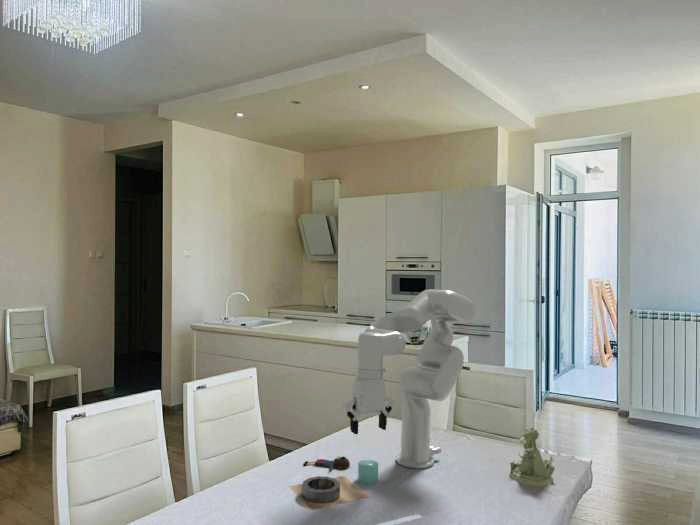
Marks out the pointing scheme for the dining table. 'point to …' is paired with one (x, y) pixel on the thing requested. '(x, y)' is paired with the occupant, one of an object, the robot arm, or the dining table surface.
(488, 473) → the dining table surface
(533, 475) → the figurine
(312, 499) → the faceted gray ring
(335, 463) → the toy
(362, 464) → the teal rounded tetrahedron
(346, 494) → the board
